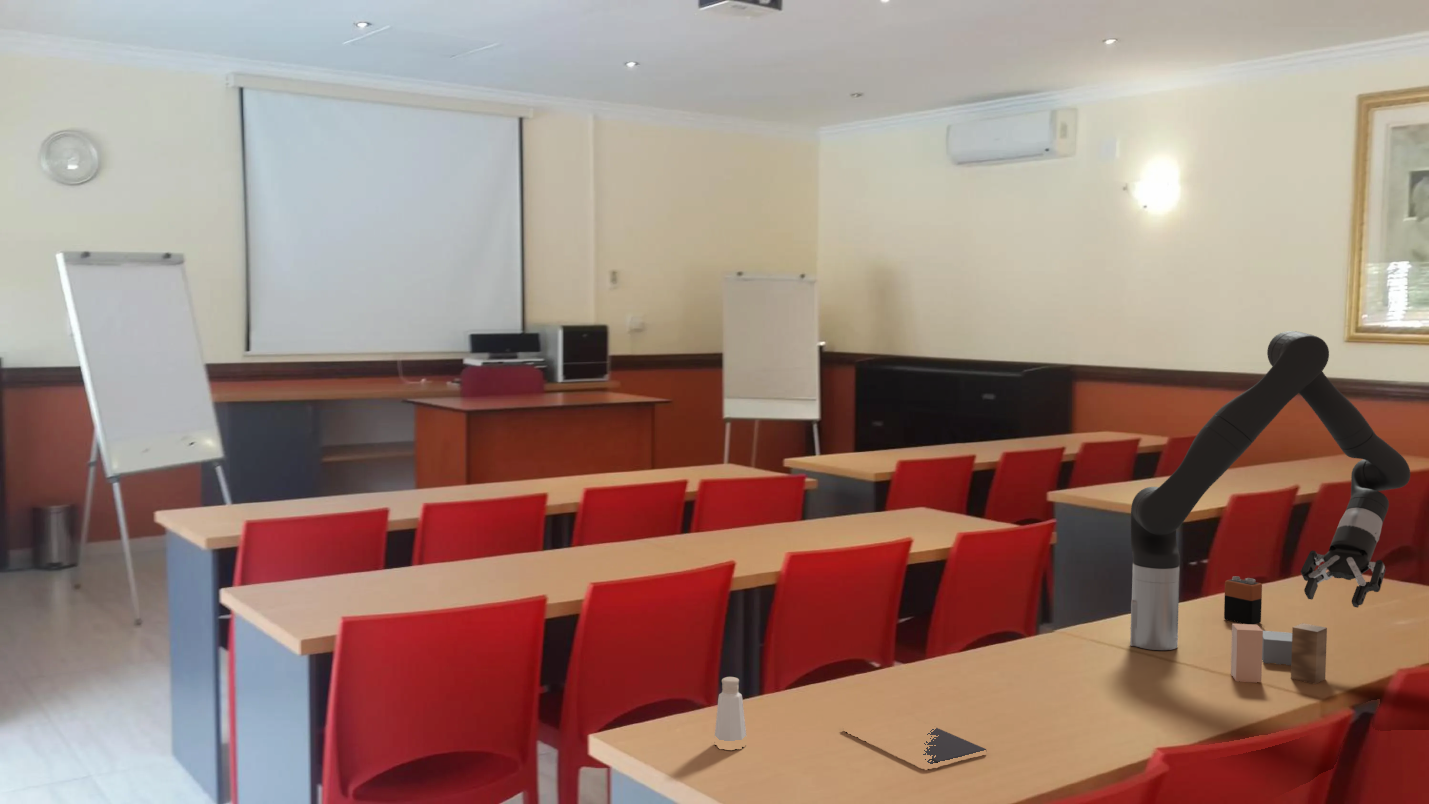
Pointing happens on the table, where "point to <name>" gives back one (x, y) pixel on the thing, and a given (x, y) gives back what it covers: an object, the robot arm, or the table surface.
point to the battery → (1243, 600)
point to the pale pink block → (1246, 652)
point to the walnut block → (1308, 653)
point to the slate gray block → (1277, 647)
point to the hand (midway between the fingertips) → (1331, 600)
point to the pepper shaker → (730, 712)
